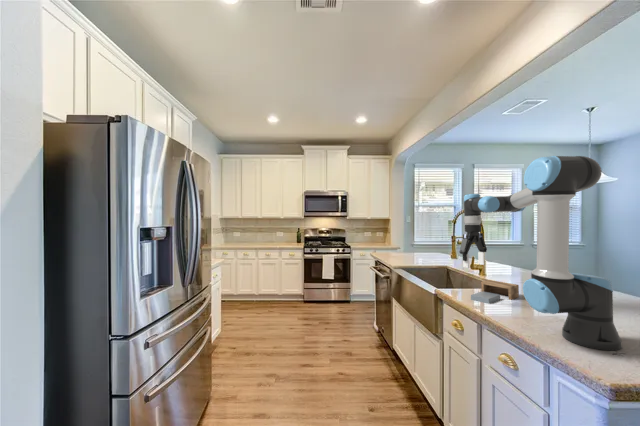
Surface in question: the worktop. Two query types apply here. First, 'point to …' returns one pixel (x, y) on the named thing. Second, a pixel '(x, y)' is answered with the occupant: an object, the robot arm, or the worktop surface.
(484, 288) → the tan wooden channel
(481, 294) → the tile
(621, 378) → the worktop surface
